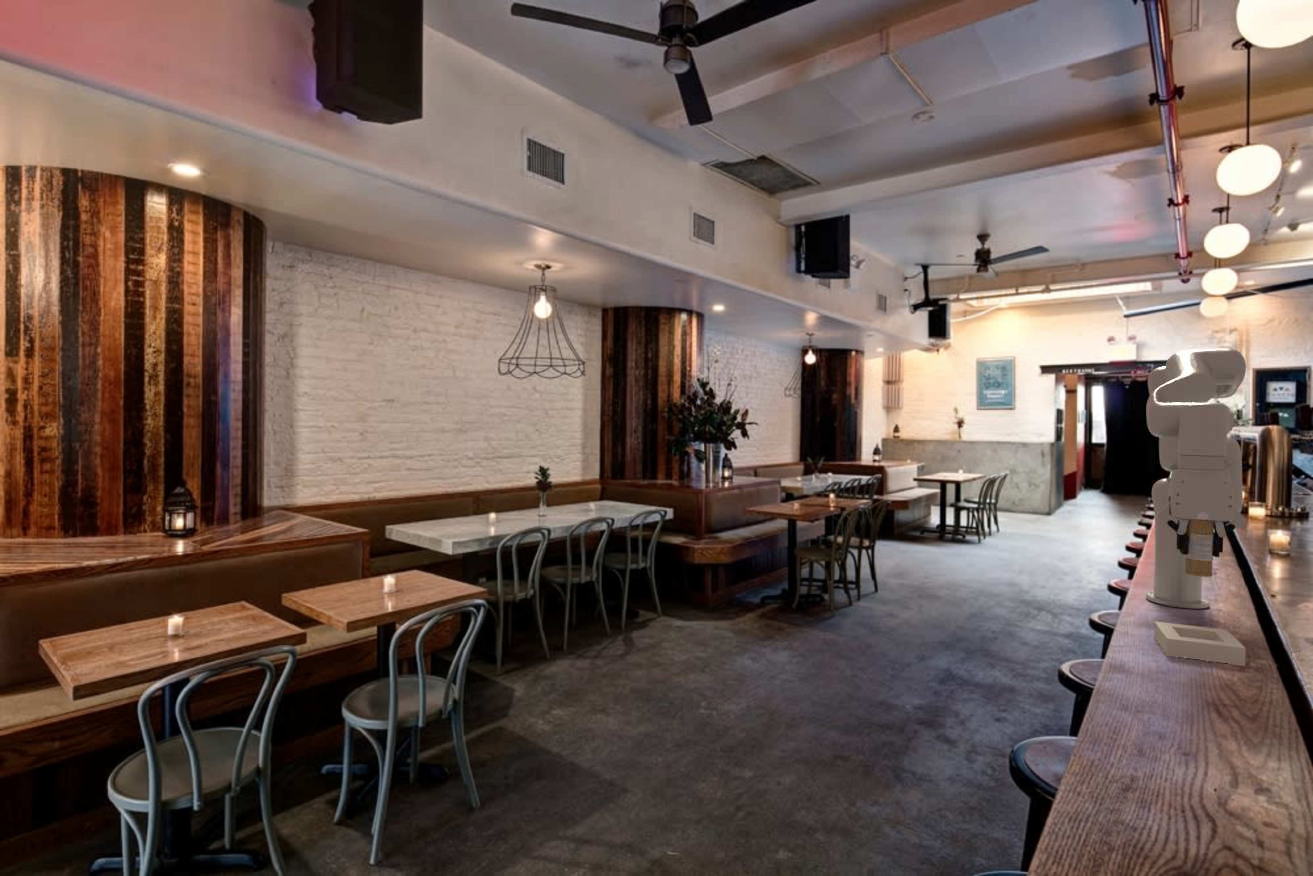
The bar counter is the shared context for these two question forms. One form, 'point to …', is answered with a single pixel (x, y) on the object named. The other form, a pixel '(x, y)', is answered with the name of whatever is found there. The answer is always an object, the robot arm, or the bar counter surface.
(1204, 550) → the sprinkles bottle
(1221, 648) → the collar
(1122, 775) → the bar counter surface
